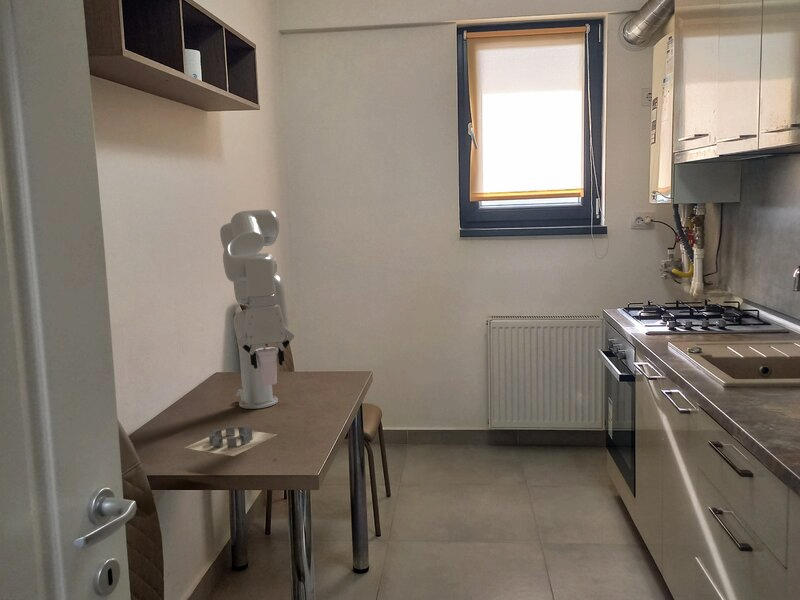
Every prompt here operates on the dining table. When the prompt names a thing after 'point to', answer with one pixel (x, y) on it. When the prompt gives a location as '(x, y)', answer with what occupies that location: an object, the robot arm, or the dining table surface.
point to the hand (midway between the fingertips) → (268, 365)
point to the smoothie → (268, 364)
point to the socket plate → (205, 446)
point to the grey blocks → (231, 442)
